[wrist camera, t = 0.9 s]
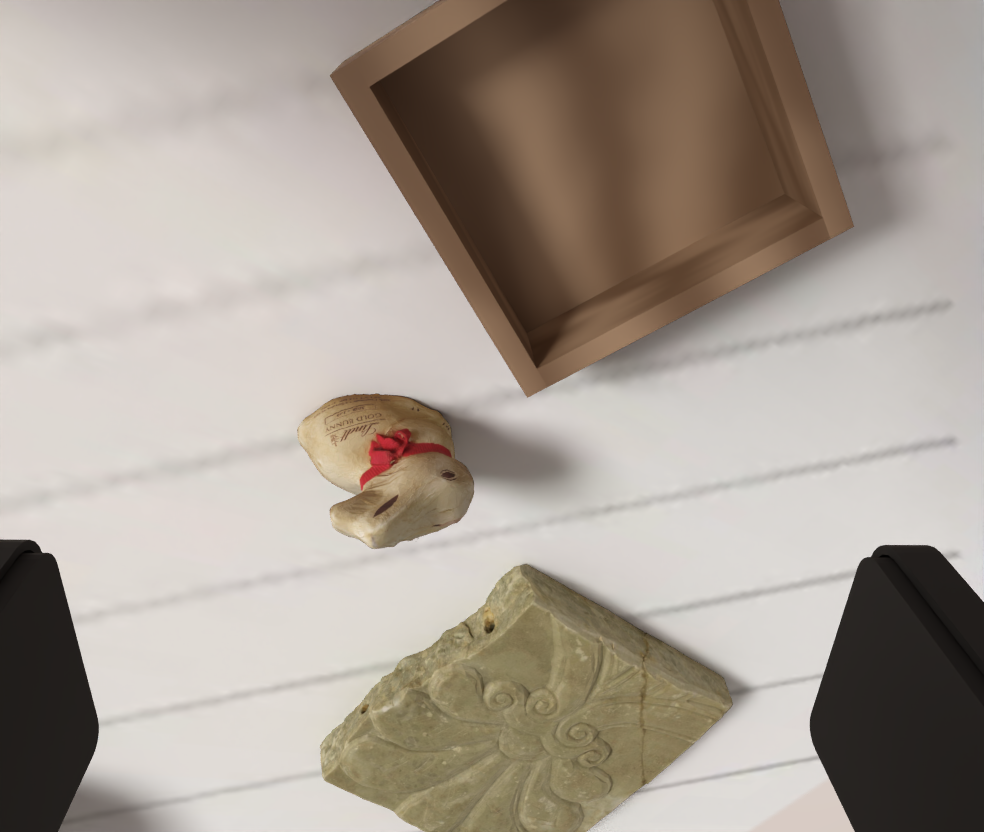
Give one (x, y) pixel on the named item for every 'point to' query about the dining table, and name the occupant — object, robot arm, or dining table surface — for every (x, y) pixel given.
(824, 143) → the box
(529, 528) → the dining table surface
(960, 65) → the dining table surface
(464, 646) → the decorative tile
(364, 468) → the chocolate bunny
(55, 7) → the dining table surface
